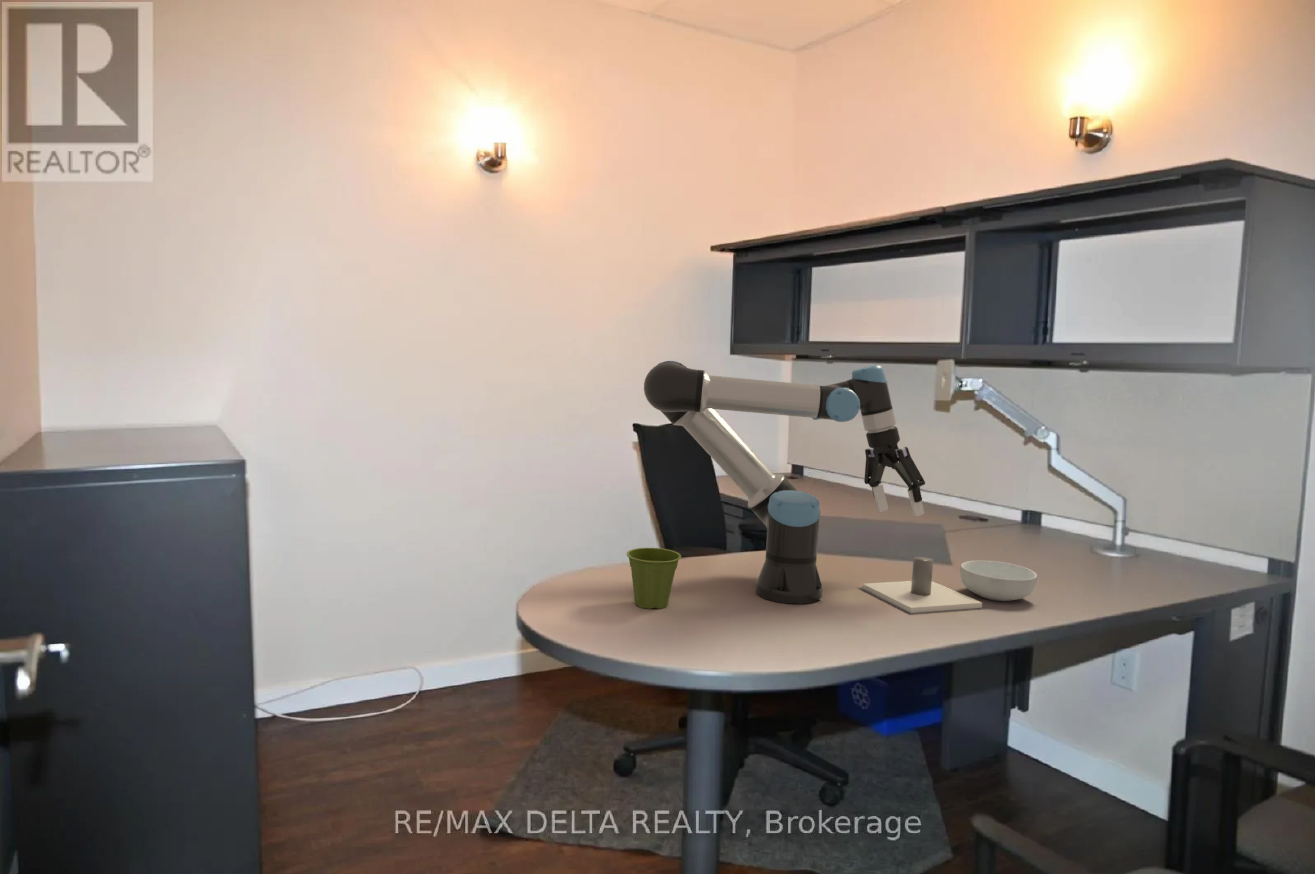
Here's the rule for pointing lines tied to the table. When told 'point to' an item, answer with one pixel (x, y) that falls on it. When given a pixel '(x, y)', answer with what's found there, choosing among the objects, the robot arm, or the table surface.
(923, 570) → the lid
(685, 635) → the table surface
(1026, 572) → the cereal bowl
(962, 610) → the mat
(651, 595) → the plant pot
